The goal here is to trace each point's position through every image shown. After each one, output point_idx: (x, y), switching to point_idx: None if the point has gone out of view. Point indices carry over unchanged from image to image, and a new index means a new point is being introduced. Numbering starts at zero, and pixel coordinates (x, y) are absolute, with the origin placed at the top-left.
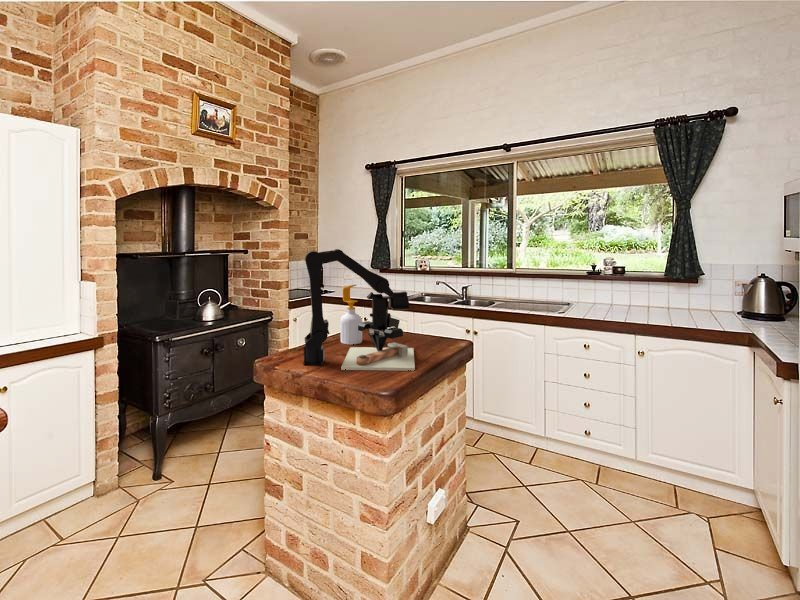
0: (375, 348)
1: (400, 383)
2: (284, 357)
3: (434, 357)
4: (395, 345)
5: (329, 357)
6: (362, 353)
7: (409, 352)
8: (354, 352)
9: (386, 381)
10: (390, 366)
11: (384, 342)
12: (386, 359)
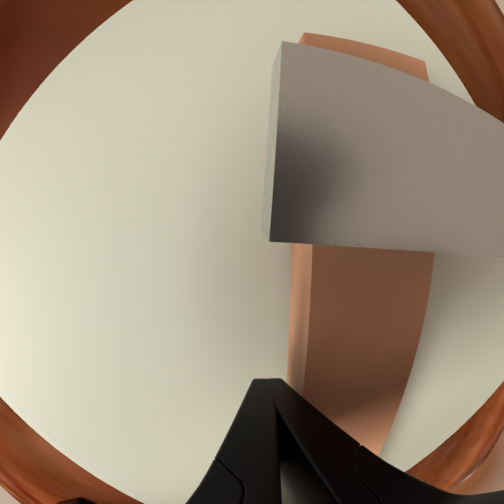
0: (7, 178)
1: (495, 433)
2: (14, 489)
3: (496, 45)
4: (473, 246)
5: (46, 466)
6: (79, 397)
7: (400, 38)
8: (32, 402)
9: (461, 461)
10: (455, 422)
11: (379, 470)
12: None
